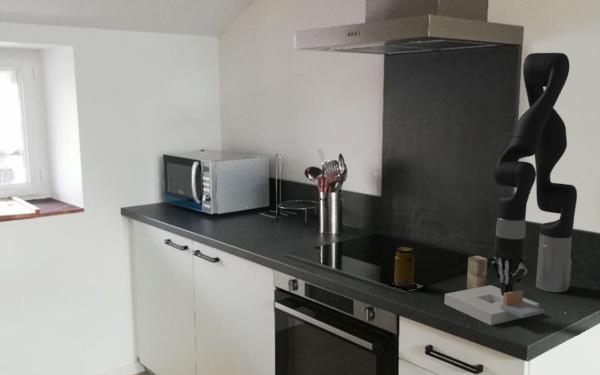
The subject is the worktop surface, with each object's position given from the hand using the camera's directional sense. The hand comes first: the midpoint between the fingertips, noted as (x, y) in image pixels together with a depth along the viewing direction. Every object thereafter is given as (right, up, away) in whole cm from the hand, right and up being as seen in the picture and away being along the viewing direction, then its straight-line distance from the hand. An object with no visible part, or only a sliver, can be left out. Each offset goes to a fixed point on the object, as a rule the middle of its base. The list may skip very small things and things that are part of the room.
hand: (506, 296), depth 164 cm
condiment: (-23, -2, +25) cm, 34 cm away
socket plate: (-3, -5, +6) cm, 8 cm away
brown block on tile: (+3, -3, -5) cm, 6 cm away
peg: (-2, -2, +23) cm, 23 cm away
